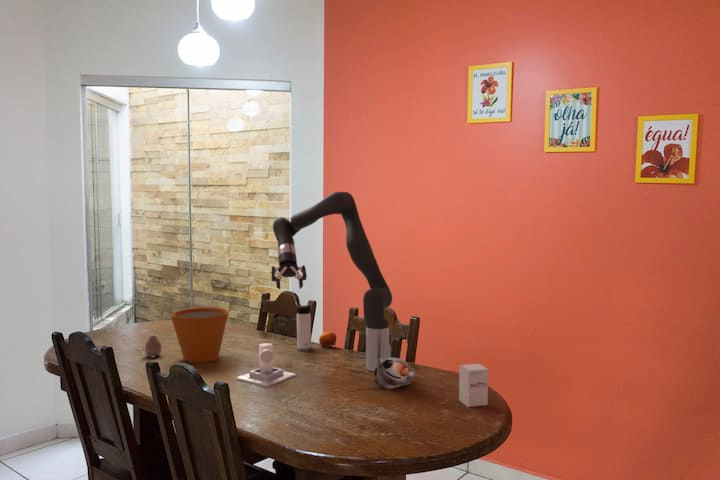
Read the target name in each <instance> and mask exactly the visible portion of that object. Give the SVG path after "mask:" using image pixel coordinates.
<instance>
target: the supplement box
mask: <svg viewBox="0 0 720 480" xmlns="http://www.w3.org/2000/svg"><path fill="white" fill-rule="evenodd" d="M458 379H459V383H458V386H459V387H458V389H459V390H458V401H460V402H461V403H462V404H463V405H465V407H467V408H472V407H481V406H488V405H489V404H488V398H489V397H488V394H489V393H488V392H489V368H488V367H485V366H484V365H482V364H480V363H472V364H471V363H470V364H460V365H459V377H458Z"/></svg>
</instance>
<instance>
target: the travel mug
mask: <svg viewBox="0 0 720 480" xmlns="http://www.w3.org/2000/svg"><path fill="white" fill-rule="evenodd" d="M311 308H312V305H302V306H298V307H296V345H297V346H296V348H297V350H298V351H301V352H302V351H305V352H306V351H310V350H311V347H312V342H311V341H312V339H311V338H312V334H311V333H312V330H311V329H312V328H311V325H312V323H311V318H312V317H311V315H312V314H311Z"/></svg>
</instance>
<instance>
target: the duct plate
mask: <svg viewBox="0 0 720 480" xmlns="http://www.w3.org/2000/svg"><path fill="white" fill-rule="evenodd" d="M296 376H297V374H296V373H294V372H290V371H286V370H284V369H283V368H278V367H274V366H273V372H272V373H270V374H263V373H260V371H259V367H258V368H254V369H253V370H250V371H249V372H248V373H245V374H243V375H239V376H237V377H236V380H237V381H241V382H246V383H250V384H254V385H257V386H263V387H268V388H269V387H272V386H274V385H276V384H279V383H281V382H284V381H286V380H288V379H291V378H293V377H296Z"/></svg>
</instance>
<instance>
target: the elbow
mask: <svg viewBox="0 0 720 480" xmlns="http://www.w3.org/2000/svg"><path fill="white" fill-rule="evenodd" d="M273 346H274V345H273V343H269V342H263V343H260V344H258V356H259V357H258V360H259V363H258V365H259V366H258V368H259V371H260V373H263V374H270V373H272V372H273V367H274V347H273Z"/></svg>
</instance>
